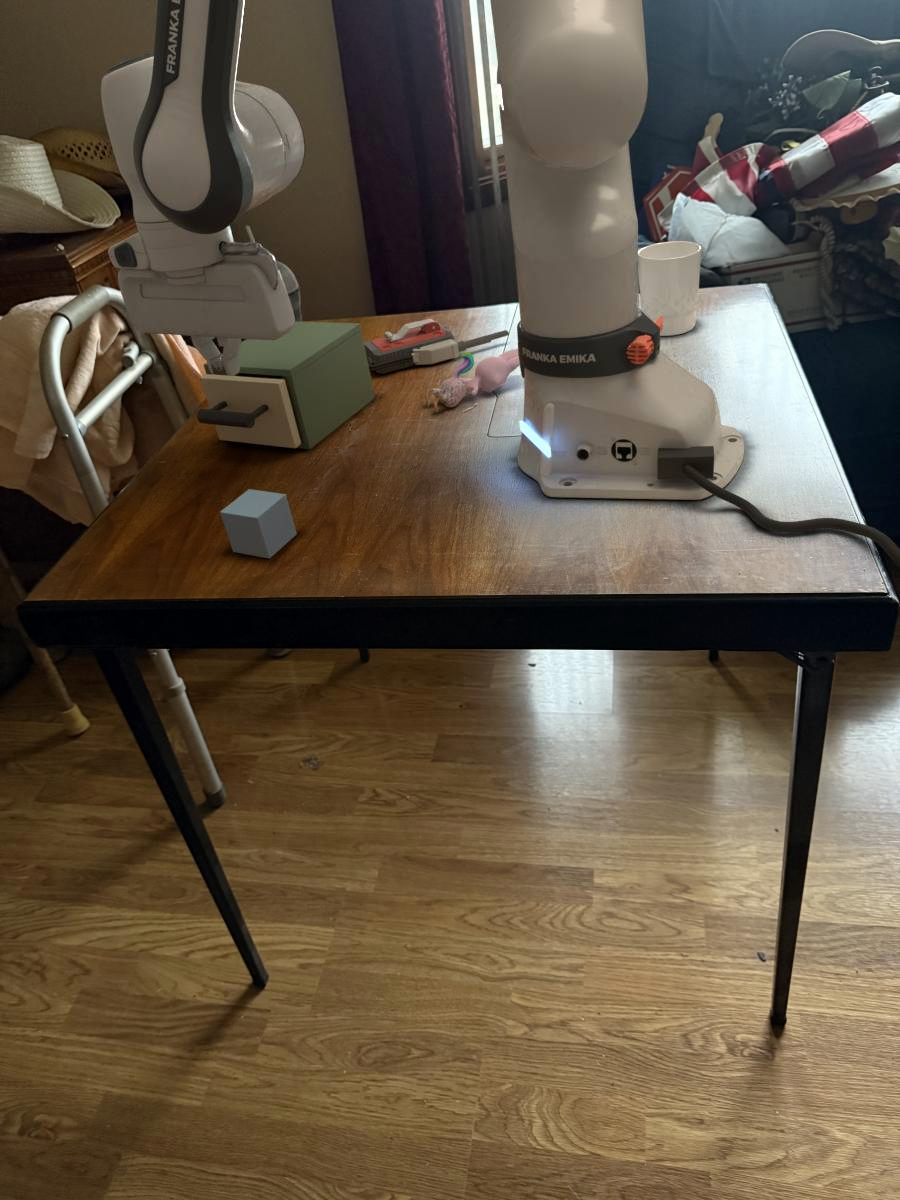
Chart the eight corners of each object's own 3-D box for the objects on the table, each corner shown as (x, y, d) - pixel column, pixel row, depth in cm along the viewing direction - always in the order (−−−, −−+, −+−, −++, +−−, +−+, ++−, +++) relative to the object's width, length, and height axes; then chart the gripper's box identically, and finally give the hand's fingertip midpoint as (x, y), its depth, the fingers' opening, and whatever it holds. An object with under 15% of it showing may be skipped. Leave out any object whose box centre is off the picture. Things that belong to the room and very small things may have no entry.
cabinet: (310, 449, 101) (289, 369, 96) (226, 440, 107) (202, 364, 101) (375, 397, 111) (360, 323, 106) (295, 391, 117) (277, 320, 111)
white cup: (652, 342, 113) (651, 263, 108) (629, 324, 120) (628, 248, 114) (709, 330, 114) (712, 250, 108) (684, 313, 120) (685, 237, 115)
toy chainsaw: (376, 383, 115) (513, 344, 120) (369, 350, 112) (509, 312, 117) (356, 364, 122) (486, 328, 127) (350, 333, 119) (483, 297, 124)
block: (297, 534, 85) (285, 493, 83) (269, 559, 82) (257, 517, 80) (261, 528, 87) (248, 488, 85) (232, 552, 84) (219, 511, 82)
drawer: (273, 465, 97) (254, 399, 92) (195, 456, 102) (174, 393, 97) (358, 400, 109) (345, 338, 104) (285, 394, 114) (270, 335, 110)
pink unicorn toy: (446, 427, 104) (551, 372, 107) (431, 383, 100) (540, 327, 103) (424, 411, 109) (525, 359, 111) (409, 368, 105) (514, 315, 108)
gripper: (289, 232, 86) (319, 368, 94) (138, 234, 95) (177, 357, 103) (249, 251, 82) (284, 391, 90) (95, 251, 91) (139, 378, 98)
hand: (226, 373), depth 96 cm, fingers closed
